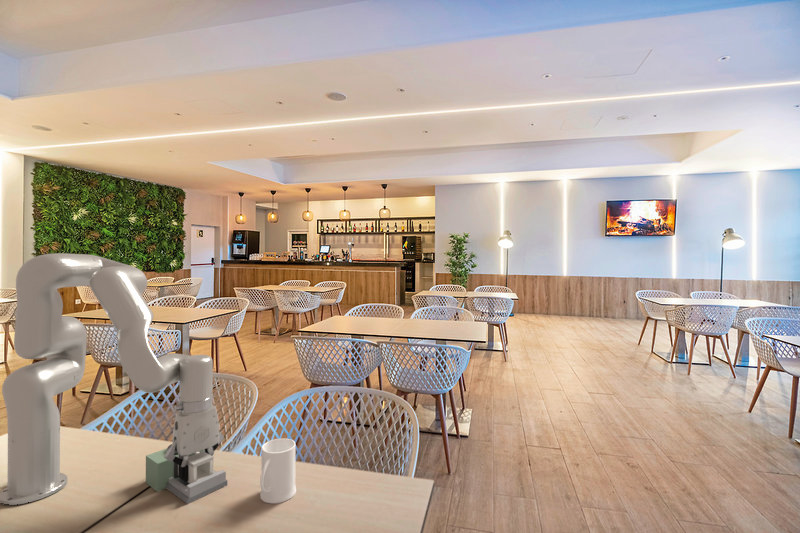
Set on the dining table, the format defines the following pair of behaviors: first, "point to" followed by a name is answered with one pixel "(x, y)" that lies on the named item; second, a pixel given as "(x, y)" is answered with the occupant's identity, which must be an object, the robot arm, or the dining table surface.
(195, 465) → the white box on legs
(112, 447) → the dining table surface
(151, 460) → the toy coffee machine
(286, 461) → the mug
